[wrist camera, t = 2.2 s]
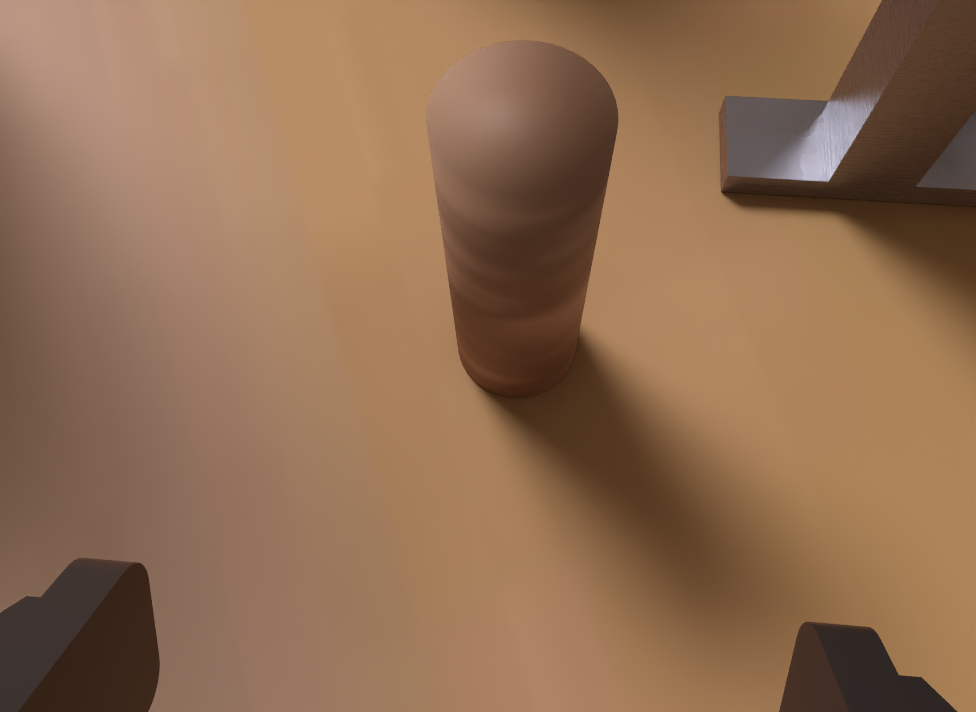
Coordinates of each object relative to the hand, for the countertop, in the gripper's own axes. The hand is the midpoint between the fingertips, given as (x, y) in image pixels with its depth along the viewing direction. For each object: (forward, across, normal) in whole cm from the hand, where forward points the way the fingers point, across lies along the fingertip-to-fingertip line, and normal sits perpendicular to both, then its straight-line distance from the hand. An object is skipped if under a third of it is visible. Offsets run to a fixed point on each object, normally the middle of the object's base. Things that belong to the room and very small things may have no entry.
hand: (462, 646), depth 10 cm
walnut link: (+18, 0, +3) cm, 19 cm away
